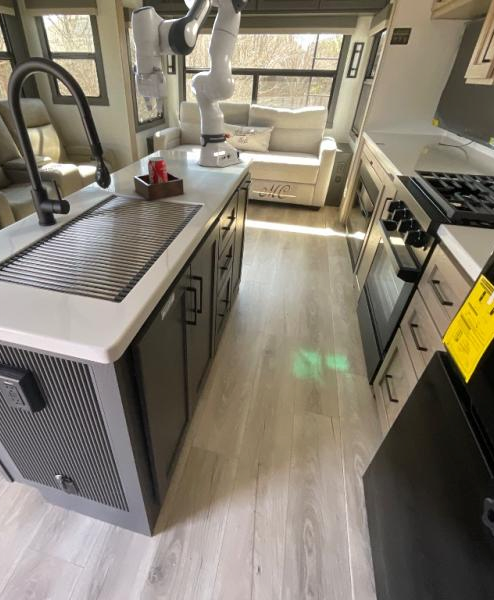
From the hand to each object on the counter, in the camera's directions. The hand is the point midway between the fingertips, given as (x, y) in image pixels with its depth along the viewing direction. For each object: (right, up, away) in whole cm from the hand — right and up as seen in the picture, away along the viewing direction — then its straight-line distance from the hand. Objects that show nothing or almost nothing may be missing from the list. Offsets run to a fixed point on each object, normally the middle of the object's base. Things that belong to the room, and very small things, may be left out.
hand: (154, 111), depth 125 cm
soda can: (+1, -28, +6) cm, 29 cm away
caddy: (+1, -29, +6) cm, 29 cm away
